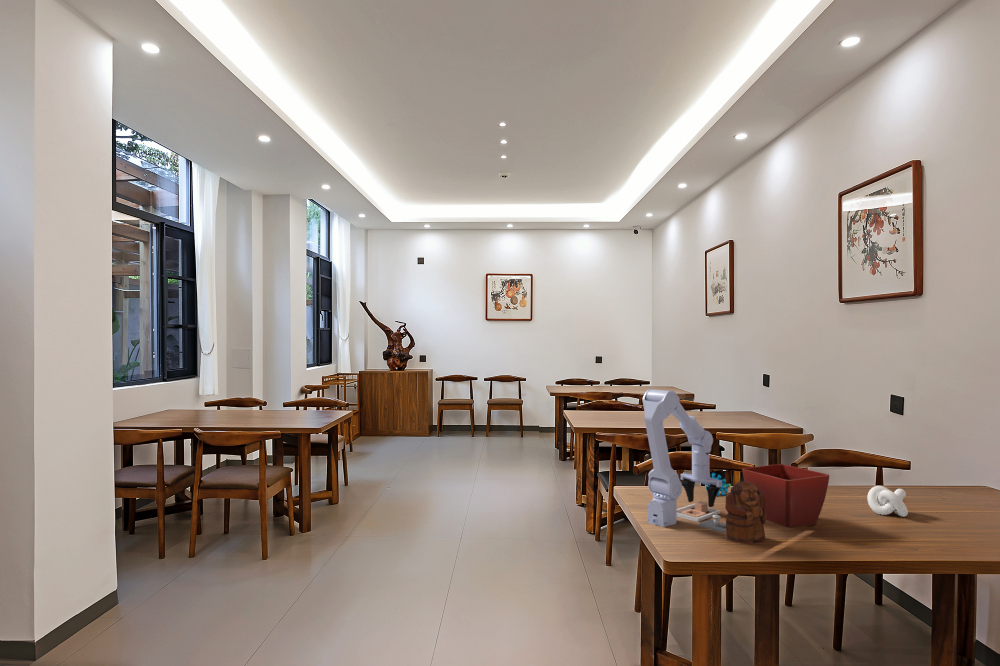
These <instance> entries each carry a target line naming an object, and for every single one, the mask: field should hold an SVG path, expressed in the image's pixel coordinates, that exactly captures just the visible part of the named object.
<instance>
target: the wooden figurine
mask: <svg viewBox="0 0 1000 666" xmlns="http://www.w3.org/2000/svg"><path fill="white" fill-rule="evenodd" d="M724 508H725V510H726V512H727V513H726V517H725V518H726V519H725V524H726V531H725V532H726V539H727V541H729V542H732V543H736V544H744V545H745V544H746V545H751V544H752V545H753V544H754V543H759V542H760V543H761V542H762V543H763V542H765V541H766V534H765V527H764V524H765V522H766V521H767V520H766V509H765V497H764V494H763V493H762V492H761V491H759V489H758V488H757V486H756V485H754V484H752V483H750V482H745V481H744V480H743V481H739V482H736V483H735V484H733V486H731V487H730V492H728V493H727V494H726V495H725V507H724Z"/></svg>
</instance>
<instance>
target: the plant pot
mask: <svg viewBox="0 0 1000 666" xmlns="http://www.w3.org/2000/svg"><path fill="white" fill-rule="evenodd" d="M741 470H742V475H743V481H745V482H750V483H752V484H754V485H756V486H757V488H758V489H759V491H761V492H762V493H763V494H764V497H765V509H766V521H768V522H770V523H773V524H776V525H780V526H782V527H785V528H795V527H801V526H805V527H809V526H810V527H811V526H815V525H816V524H817V522H818V519H819V517H820V514H821V512H822V509H823V507H824V503H825V499H826V496H827V492H828V486H829V482H830V481H829V480H830V474H829V473H823V472H819V471H815V470H810V469H807V468H801V467H797V466H792V465H788V464H785V463H784V464H783V463H779V464H777V463H776V464H767V465H761V466H752V467H743V468H742V469H741Z"/></svg>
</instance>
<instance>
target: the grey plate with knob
mask: <svg viewBox="0 0 1000 666" xmlns="http://www.w3.org/2000/svg"><path fill="white" fill-rule="evenodd" d="M712 518H713V520H712V519H707V520H704V521H703V522H700V523H698V524H695V526H697V527H700V528H703V529H708V530H710V531H714V532H718V533H723V534H724V533H725V532H726V522H725V523H724V522H721V521H720V519H721V515H719V514H718V515H713V516H712Z"/></svg>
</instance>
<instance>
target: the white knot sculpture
mask: <svg viewBox="0 0 1000 666" xmlns="http://www.w3.org/2000/svg"><path fill="white" fill-rule="evenodd" d="M906 495H907V493H906V491H905V490H904V489H903V488H897V489H896V490H895V491H894V492H893V491H892V490H890V489H889V488H887V487H885V486H883V485H874V486H873V487H871V489H869V491H868V493H867V495H866V497H867V503H868V506H869V507H870V508H869V509H871V510H872V511H873V512H874V513H875V514H878V515H880V514H881V515H880V516H887V515H890V514H891V513H893V512H894V513H895V515H897V516H899V517H902V518H904V517H907V516H908V515H909V510H908V507H907V505H906V504H905V503H904V501H903V500H904V499H905V497H906Z"/></svg>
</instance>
